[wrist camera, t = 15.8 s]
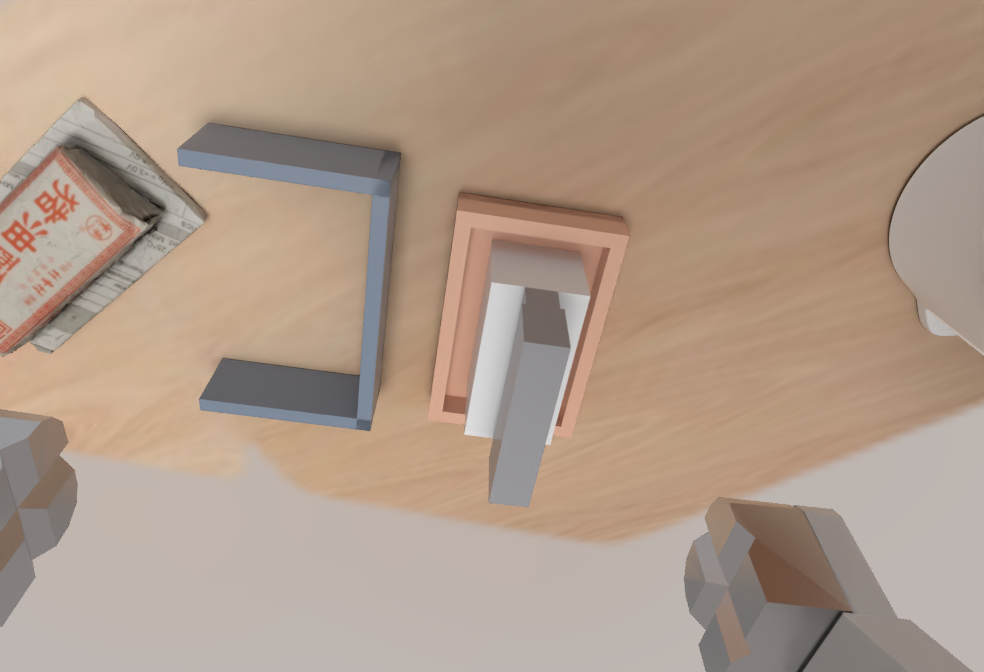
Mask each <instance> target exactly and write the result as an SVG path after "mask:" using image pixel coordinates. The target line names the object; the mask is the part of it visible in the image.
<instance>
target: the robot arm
mask: <svg viewBox="0 0 984 672" xmlns="http://www.w3.org/2000/svg"><path fill="white" fill-rule="evenodd" d="M889 249H890V255H891V260H892V263H893V266H894V268H895V270H896V272H897V274H898V275H899V277H900V278H901V280H902V281H903V282H904V283H905V285H906V286H907V287H908V288H909V289H910V290H911V291H912V293H913V294H914V295H915V297H916V299H917V306H918V314H919V318H920V322H921V324H922V326H923V327H924V328H926V329H927V330H928V331H930V332H931V333H932V334H934V335H937V336H959V337H961V338H962V339H963V340H964V341H966V342H967V343H968V344H969V345H971V346H972V347H973V348H975V349H976V350H977V351H978V352H980V353H981V354H982V355H983V356H984V116H983V117H981V118H979V119H977V120H975V121H974V122H972V123H970V124H969V125H967V126H965V127H964V128H962V129H961V130H959V131H958V132H956V133H955V134H954V135H952V136H951V137H950V138H948V139H947V140H946V141H945V142H944V143H942V144H941V145H940V146H939V147H938V148H937V149H936V150H935V151H934V152H933V153H932V154H931V155H930V156H929V157H928V158H927V159H926V160H925V161H924V162H923V163H922V165H921V166H920V167H919V168H918V170H917V171H916V172H915V173H914V175H913V176H912V178H911V179H910V181H909V182H908V184H907V185H906V187H905V189H904V191H903V192H902V194H901V196H900V198H899V201H898V203H897V205H896V208H895V211H894V214H893V217H892V221H891V226H890V233H889ZM67 444H68V439H67V436H66V432H65V429H64V425H63V422H62V421H60V420H58V419H56V418H53V417H49V416H42V415H35V414H29V413H22V412H15V411H8V410H1V409H0V626H1V627H2V626H3V624H4V623H5V622H6V620H7V619H8V617H9V616H10V614H11V612H12V611H13V610H14V608H15V607H16V605H17V604H18V602H19V601H20V599H21V598H22V596H23V595H24V593H25V592H26V590H27V589H28V587H29V586H30V584H31V583H32V581H33V580H34V578H35V572H34V567H33V562H32V560H33V559H35V558H36V557H38V556H40V555H41V554H43V553H45V552H46V551H48V550H50V549H52V548H53V547H55V546H56V545H57V544H58V542H59V541H60V539H61V537H62V536H63V534H64V533H65V531H66V530H67V528H68V526H69V524H70V521H71V518H72V514H73V512H74V509H75V506H76V503H77V485H78V484H77V480H76V475H75V470H74V469H73V468H72V467H71V466H70V465H69V464H68V463H67V462H66V461H65V460H64V459H63V458H62V457H60V456H59V454H60V453H61V452H62V450H63V449H64V448H65V446H66V445H67ZM705 520H706V523H707V526H708V530H709V532H707V533H706V534H704V535H702V536H701V537H699V538H698V539H696V540H695V541H694V542H693V544H692V546H691V549H690V551H689V554H688V556H687V559H686V567H685V576H684V583H685V593H686V598H687V603H688V607H689V611H690V614H691V615H692V616H693V617H694V618H695V619H696V620H697V621H698V622H699V623H700V624H701V625H702V626H703V627H704V629H706V631H705V633H704V635H703V637H702V639H701V641H700V643H699V648H700V652H701V655H702V659H703V663H704V666H705V670H706V672H973V671H971V670H970V669H969V668H968V667H967V666H965V665H964V664H963V663H962V662H961V661H959V660H958V659H957V658H956V657H954V656H953V655H952V654H951V653H949V652H948V651H947V650H946V649H944V648H943V647H942V646H941V645H940V644H938V643H937V642H936V641H935V640H934V639H933V638H931V637H930V636H929V635H928V634H926V633H925V632H924V631H923V630H922V629H920V628H919V627H918V626H917V625H916V624H914V623H913V622H912V621H911V620H906V619H898V618H897V616H896V614H895V612H894V610H893V608H892V607H891V605H890V603H889V601H888V599H887V598H886V596H885V594H884V592H883V590H882V589H881V587H880V585H879V583H878V581H877V580H876V578H875V576H874V574H873V572H872V571H871V569H870V567H869V565H868V563H867V562H866V560H865V558H864V556H863V554H862V553H861V551H860V549H859V547H858V546H857V544H856V542H855V540H854V538H853V536H852V535H851V533H850V531H849V529H848V528H847V526H846V524H845V522H844V520H843V518H842V517H841V516H840V515H839V514H838V513H836V512H835V511H834V510H833V509H825V508H816V507H807V506H798V505H794V506H791V505H786V504H777V503H768V502H759V501H750V500H741V499H732V498H723V497H719V498H717V499H716V500H715V501H714V502H713V503H712V504H711V505H710V508H709V510H708V512H707V514H706V516H705Z"/></svg>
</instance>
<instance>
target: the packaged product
mask: <svg viewBox="0 0 984 672" xmlns="http://www.w3.org/2000/svg"><path fill="white" fill-rule="evenodd" d="M206 217H207V214H206V213H205V212H204V211H203V210H202V209H201V208H200V207H199V206H198V205H197V204H196V203H195V202H194V201H193V200H192V199H191V198H190V197H189V196H188V195H187V194H186V193H185V192H184V191H183V190H182V189H181V188H180V187H179V186H178V185H177V184H176V183H175V182H174V181H173V180H172V179H171V178H169V177H168V176H167V175H166V174H165V173H164V172H163V171H162V170H161V169H160V168H159V167H158V166H157V165H156V164H155V163H154V162H153V161H152V160H151V159H150V158H149V157H148V156H147V155H146V154H145V153H144V152H143V151H142V150H141V149H140V148H139V147H138V146H137V145H136V144H135V143H134V142H133V141H132V140H131V139H130V138H129V137H128V136H127V135H126V134H125V133H124V132H123V131H122V130H121V129H120V128H119V127H118V126H117V125H116V124H115V123H114V122H113V121H112V120H110V119H109V118H108V117H107V116H106V115H105V114H104V113H102V112H101V111H100V110H99V109H97V108H96V107H95V106H94V105H93V104H91V103H90V102H89V101H88V100H87V99H80V100H78V101H77V102H76V103H75V104H74V105H73V106H72V107H71V108H70V109H69V110H68V111H67V112H66V113H65V114H64V115H63V116H62V117H61V118H60V119H59V120H58V121H57V122H56V123H55V124H54V125H53V126H52V127H51V128H50V129H49V130H48V131H47V133H46V134H45V135H44V136H43V137H42V138H41V139H40V140H39V141H38V142H37V143H36V144H35V145H34V146H33V147H32V148H31V149H30V150H29V151H28V152H27V153H26V154H25V155H24V156H23V157H22V158H21V159H20V160H19V161H18V163H17V164H16V165H15V166H14V167H13V168H12V169H11V170H10V171H9V172H8V173H7V174H6V175H5V176H4V177H3V179H2V180H0V355H1V356H2V357H4V356H5V355H7V354H9V353H13V351H16V350H17V349H18V348H20V347H21V346H23V345H25V344H26V343H27V342H28V341H29V342H30V343H31V344H33V345H34V346H35V347H36V349H37V350H38V351H42V352H46V353H50V354H51V353H52V352H54V351H55V350H56V349H57V348H59V347H60V346H61V345H62V344H63V343H64V342H65V341H67V340H68V339H69V338H70V337H71V336H72V335H73V334H74V333H75V332H76V331H78V330H79V329H80V328H81V327H82V326H84V325H85V324H86V323H87V322H88V321H90V320H91V319H92V318H93V317H95V316H96V315H97V314H98V313H99V312H101V311H102V310H103V309H104V308H105V307H106V306H107V305H108V304H110V303H111V302H112V301H113V300H114V299H115V298H117V297H118V296H119V295H120V294H121V293H123V292H124V291H125V290H126V289H128V288H129V287H130V286H131V285H132V284H134V283H135V282H136V281H137V280H138V279H139V278H140V277H141V276H143V275H144V274H145V273H146V272H147V271H148V270H149V269H150V268H151V267H152V266H153V265H154V264H156V263H157V262H158V261H159V260H160V259H162V258H163V257H164V256H165V255H167V254H168V253H169V252H170V251H171V250H173V249H174V248H175V247H176V246H178V245H179V244H180V243H181V242H182V241H184V240H185V239H186V238H187V237H189V236H190V235H191V234H192V233H193V232H194V231H195V230H196V229H198V228H199V227H200V226H201V225H202V224H203V223H204V222H205V219H206Z"/></svg>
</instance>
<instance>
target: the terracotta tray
mask: <svg viewBox="0 0 984 672" xmlns="http://www.w3.org/2000/svg"><path fill="white" fill-rule="evenodd" d="M629 237H630V235H629V233H628V230H627V227H626V225H625V222H624V219H623V217H618V216H611V215H605V214H598V213H592V212H585V211H579V210H572V209H565V208H559V207H552V206H546V205H539V204H533V203H526V202H520V201H513V200H507V199H500V198H493V197H487V196H480V195H474V194H467V193H461V192H459V198H458V205H457V212H456V219H455V227H454V234H453V241H452V248H451V255H450V262H449V269H448V276H447V284H446V291H445V298H444V305H443V312H442V319H441V326H440V333H439V341H438V348H437V355H436V362H435V369H434V376H433V383H432V390H431V398H430V406H429V413H428V420H431V421H438V422H446V423H454V424H462V425H465V413H466V396H467V381H468V375H469V370H470V364H471V358H472V352H473V347H474V341H475V335H476V329H477V324H478V318H479V312H480V306H481V301H482V295H483V289H484V283H485V278H486V272H487V266H488V260H489V255H490V249H491V243H492V239H495V240H502V241H509V242H516V243H522V244H529V245H536V246H543V247H549V248H556V249H563V250H570V251H576V252H580V253H581V257H582V261H583V266H584V270H585V274H586V279H587V283H588V288H589V292H590V300H589V304H588V307H587V311H586V315H585V318H584V322H583V326H582V329H581V333H580V337H579V341H578V344H577V348H576V352H575V355H574V359H573V363H572V366H571V370H570V374H569V377H568V381H567V385H566V389H565V392H564V396H563V400H562V403H561V407H560V411H559V414H558V418H557V422H556V425H555V429H554V433H553V436H558V437H566V438H571V437H572V434H573V430H574V427H575V423H576V420H577V416H578V413H579V410H580V406H581V403H582V399H583V396H584V392H585V389H586V386H587V382H588V379H589V375H590V372H591V368H592V365H593V361H594V358H595V355H596V351H597V348H598V344H599V341H600V337H601V334H602V330H603V327H604V324H605V320H606V317H607V313H608V310H609V306H610V303H611V299H612V296H613V293H614V289H615V286H616V282H617V279H618V275H619V272H620V268H621V265H622V262H623V258H624V255H625V251H626V248H627V244H628V241H629Z"/></svg>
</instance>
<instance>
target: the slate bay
mask: <svg viewBox="0 0 984 672" xmlns="http://www.w3.org/2000/svg"><path fill="white" fill-rule="evenodd" d="M177 152H178V163H179V166H184V167H190V168H197V169H204V170H210V171H217V172H223V173H230V174H237V175H243V176H250V177H257V178H263V179H270V180H276V181H283V182H290V183H296V184H303V185H310V186H316V187H323V188H330V189H336V190H343V191H349V192H356V193H363V194H369V195H372V209H371V223H370V238H369V252H368V267H367V281H366V295H365V310H364V324H363V339H362V353H361V367H360V376H355V375H348V374H340V373H332V372H324V371H317V370H309V369H301V368H294V367H286V366H278V365H270V364H263V363H255V362H247V361H240V360H232V359H224V358H223V359H222V360H221V362H220V364H219V366H218V367H217V369H216V371H215V372H214V374H213V376H212V378H211V379H210V381H209V383H208V385H207V386H206V388H205V390H204V392H203V393H202V395H201V397H200V398H199V403H200V410H203V411H212V412H220V413H228V414H236V415H244V416H252V417H260V418H268V419H276V420H284V421H293V422H301V423H309V424H317V425H325V426H333V427H341V428H349V429H357V430H365V431H370V429H371V425H372V421H373V416H374V412H375V408H376V403H377V399H378V395H379V390H380V382H381V371H382V359H383V348H384V337H385V326H386V315H387V304H388V293H389V281H390V270H391V259H392V248H393V237H394V226H395V215H396V203H397V192H398V181H399V170H400V159H401V153H397V152H390V151H384V150H377V149H371V148H365V147H358V146H352V145H345V144H339V143H333V142H326V141H320V140H313V139H307V138H301V137H294V136H288V135H281V134H275V133H269V132H262V131H256V130H249V129H243V128H237V127H230V126H224V125H217V124H211V123H208V124H206V125H205V126H204V127H203V128H202V129H200V130H199V131H198V132H197V133H196V134H194V135H193V136H192V137H191V138H190V139H188V140H187V141H186V142H185V143H183V144H182V145H181V146H180V147H179V148H177Z"/></svg>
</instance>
